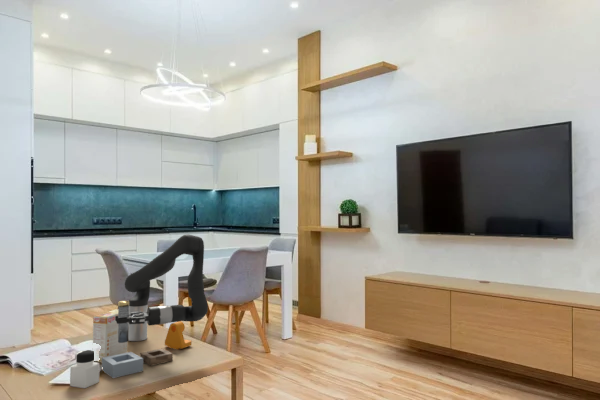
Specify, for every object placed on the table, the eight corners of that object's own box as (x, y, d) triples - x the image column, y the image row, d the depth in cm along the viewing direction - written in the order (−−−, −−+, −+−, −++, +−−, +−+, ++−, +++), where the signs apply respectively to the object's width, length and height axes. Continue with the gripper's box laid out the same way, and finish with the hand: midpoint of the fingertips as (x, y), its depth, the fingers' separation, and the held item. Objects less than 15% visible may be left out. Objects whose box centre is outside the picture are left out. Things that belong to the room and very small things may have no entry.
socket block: (140, 359, 194) (140, 353, 194) (161, 355, 201) (161, 348, 201) (150, 365, 186) (150, 358, 187) (172, 360, 193) (172, 353, 193)
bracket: (192, 346, 215) (192, 321, 215) (181, 350, 208) (182, 324, 209) (175, 343, 220) (175, 318, 220) (164, 347, 213) (165, 321, 214)
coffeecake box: (114, 351, 206) (115, 308, 207) (128, 352, 204) (128, 309, 205) (91, 361, 191) (92, 315, 192) (105, 363, 189) (106, 316, 190)
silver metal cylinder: (116, 341, 181) (116, 301, 181) (126, 339, 184) (126, 300, 184) (120, 343, 178) (120, 303, 178) (130, 341, 181) (130, 301, 181)
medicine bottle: (99, 382, 168) (100, 349, 168) (84, 388, 161) (85, 355, 162) (84, 379, 170) (85, 347, 171) (69, 386, 164) (70, 353, 164)
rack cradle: (101, 370, 181) (101, 357, 181) (130, 363, 189) (131, 351, 189) (112, 378, 172) (113, 365, 172) (143, 370, 180) (143, 358, 180)
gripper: (156, 303, 194) (114, 307, 186) (163, 309, 182) (118, 313, 174) (156, 320, 194) (113, 325, 186) (163, 327, 182) (117, 333, 173)
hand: (116, 319), depth 180 cm, fingers closed on silver metal cylinder, 4 cm apart
